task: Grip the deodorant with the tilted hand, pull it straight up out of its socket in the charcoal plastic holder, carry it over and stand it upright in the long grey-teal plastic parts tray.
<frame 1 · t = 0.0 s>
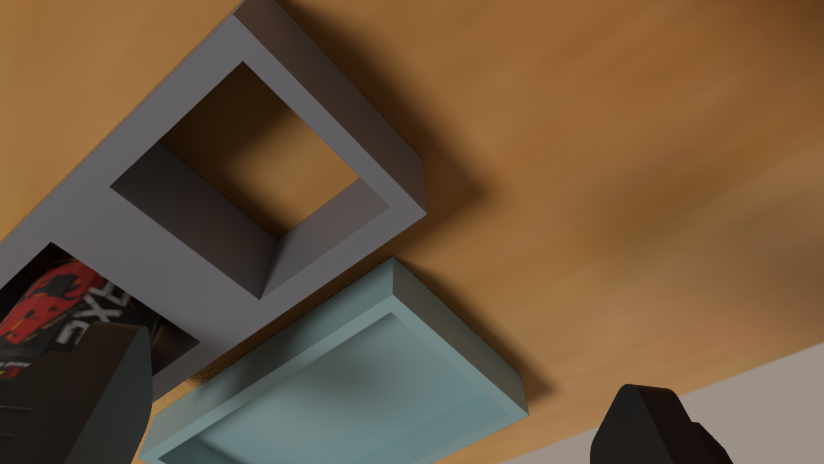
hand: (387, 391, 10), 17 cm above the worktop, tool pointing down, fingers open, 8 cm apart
deodorant: (122, 270, 30), resting in holder
tray: (333, 395, 36), on the worktop
holder: (190, 213, 28), on the worktop
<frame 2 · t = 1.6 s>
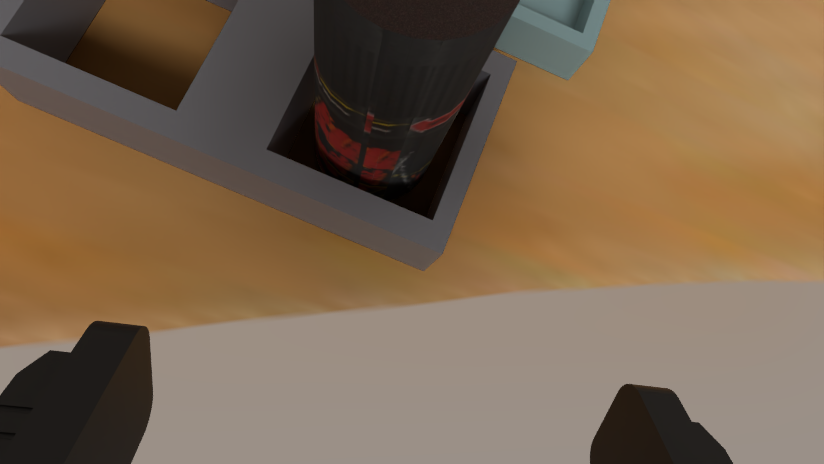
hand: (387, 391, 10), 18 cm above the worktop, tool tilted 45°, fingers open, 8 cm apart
deodorant: (373, 148, 30), resting in holder
holder: (269, 101, 29), on the worktop
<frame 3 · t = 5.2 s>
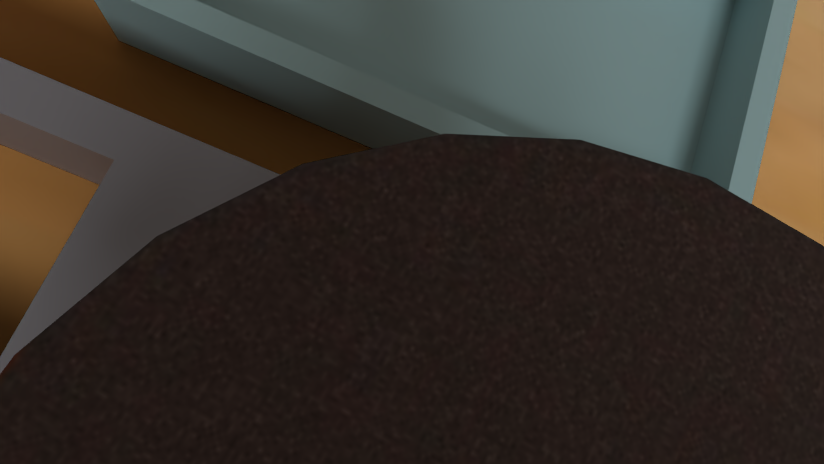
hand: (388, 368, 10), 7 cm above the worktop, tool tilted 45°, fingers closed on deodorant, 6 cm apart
deodorant: (352, 428, 17), resting in holder, touching gripper
tray: (466, 18, 21), on the worktop
holder: (168, 355, 17), on the worktop
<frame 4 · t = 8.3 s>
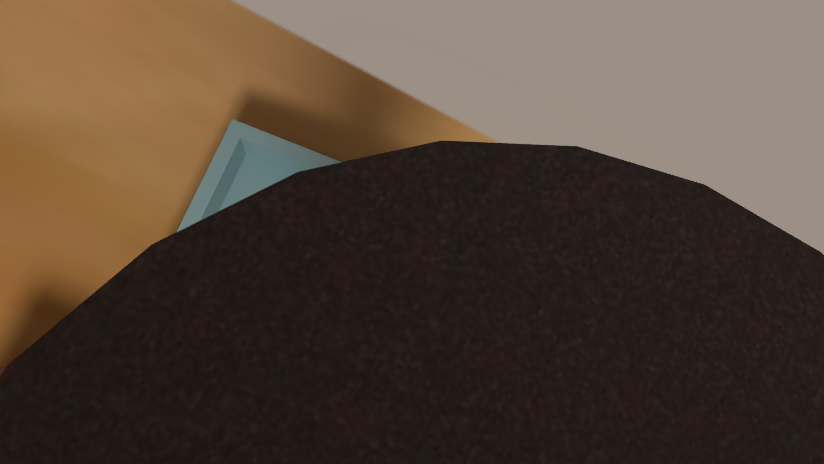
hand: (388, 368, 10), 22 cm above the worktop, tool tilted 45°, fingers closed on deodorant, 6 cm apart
deodorant: (352, 429, 17), point 14 cm above the worktop, touching gripper
tray: (364, 298, 32), on the worktop
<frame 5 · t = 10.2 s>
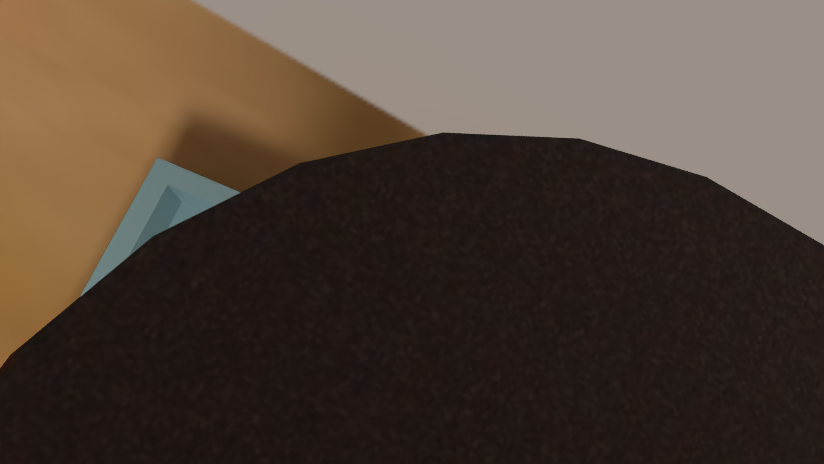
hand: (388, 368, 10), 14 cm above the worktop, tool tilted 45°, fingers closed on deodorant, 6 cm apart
deodorant: (353, 428, 17), point 7 cm above the worktop, touching gripper
tray: (338, 406, 24), on the worktop
when the fingers open (9 cm above the worktop, at t = 11.7 s): deodorant drops 1 cm, resting on tray.
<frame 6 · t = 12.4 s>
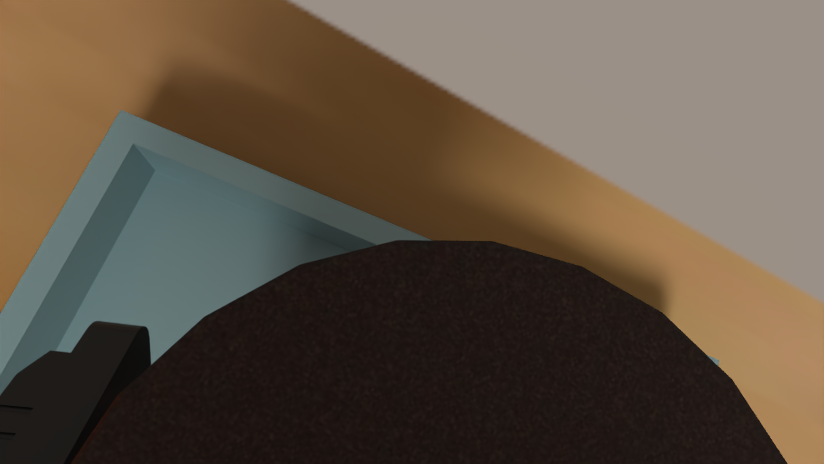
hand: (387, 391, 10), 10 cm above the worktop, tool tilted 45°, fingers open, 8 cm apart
deodorant: (348, 430, 19), resting on tray
tray: (349, 422, 19), on the worktop
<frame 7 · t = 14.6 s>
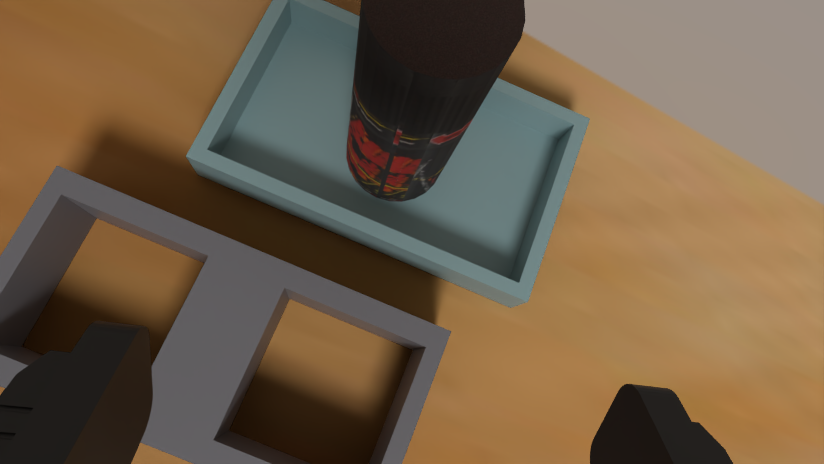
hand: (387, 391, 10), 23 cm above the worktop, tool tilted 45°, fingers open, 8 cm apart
deodorant: (394, 156, 35), resting on tray
tray: (394, 155, 36), on the worktop
holder: (226, 348, 32), on the worktop
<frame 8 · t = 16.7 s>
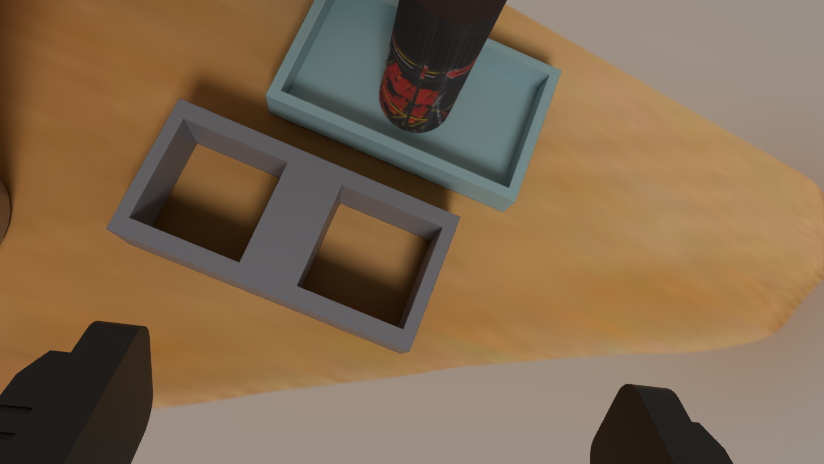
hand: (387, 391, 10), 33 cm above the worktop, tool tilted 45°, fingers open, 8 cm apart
deodorant: (415, 99, 47), resting on tray
tray: (414, 99, 47), on the worktop
holder: (294, 237, 43), on the worktop
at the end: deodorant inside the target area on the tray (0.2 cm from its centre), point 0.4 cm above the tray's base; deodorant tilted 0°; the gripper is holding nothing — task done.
